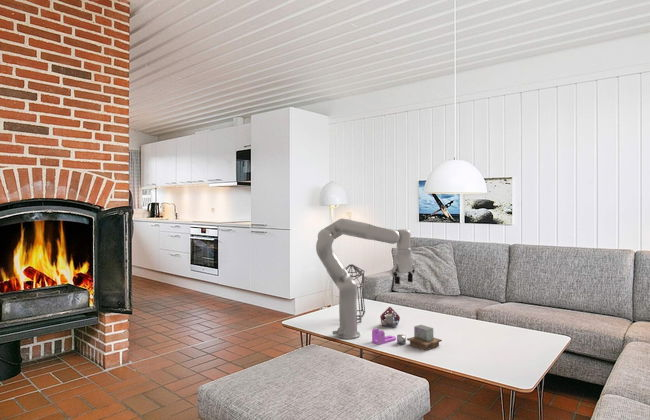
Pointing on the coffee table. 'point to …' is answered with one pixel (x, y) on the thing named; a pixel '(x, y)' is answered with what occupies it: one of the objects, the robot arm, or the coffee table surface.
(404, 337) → the knob
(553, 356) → the coffee table surface
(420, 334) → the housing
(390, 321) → the brake caliper
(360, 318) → the geometric lantern
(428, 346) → the stand
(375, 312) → the coffee table surface
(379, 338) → the bracket
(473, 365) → the coffee table surface
